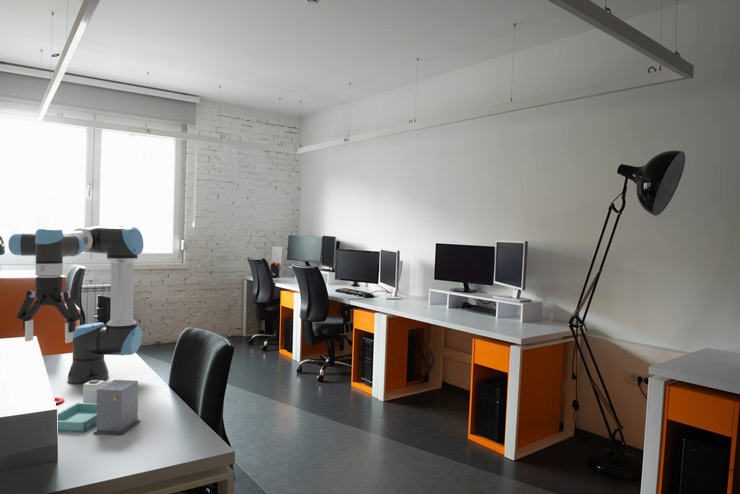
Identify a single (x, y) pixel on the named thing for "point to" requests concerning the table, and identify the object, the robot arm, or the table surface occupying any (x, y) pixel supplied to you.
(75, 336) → the robot arm
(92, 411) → the parts tray
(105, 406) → the controller unit
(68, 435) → the table surface
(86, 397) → the white tall square block
